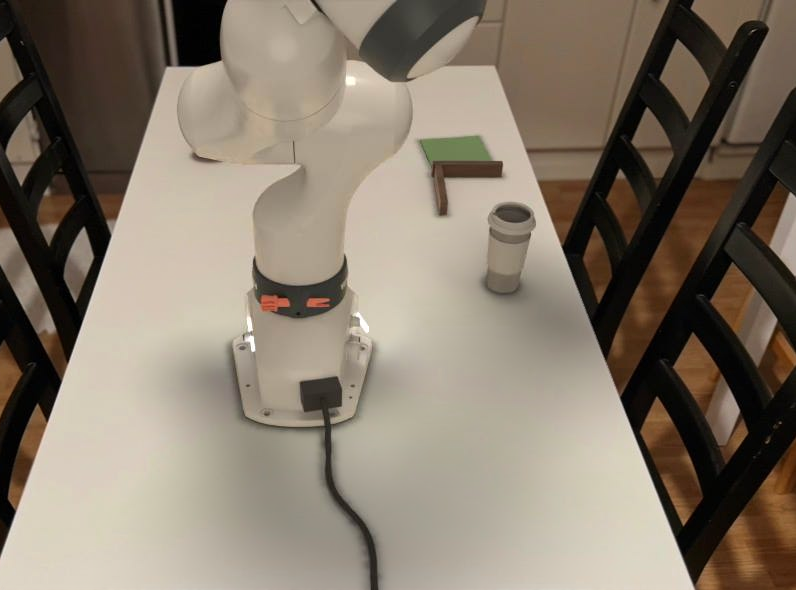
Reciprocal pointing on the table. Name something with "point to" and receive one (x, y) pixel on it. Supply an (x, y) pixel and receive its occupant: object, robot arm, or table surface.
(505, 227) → the cup
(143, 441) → the table surface
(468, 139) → the green flat board
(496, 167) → the corner guide
